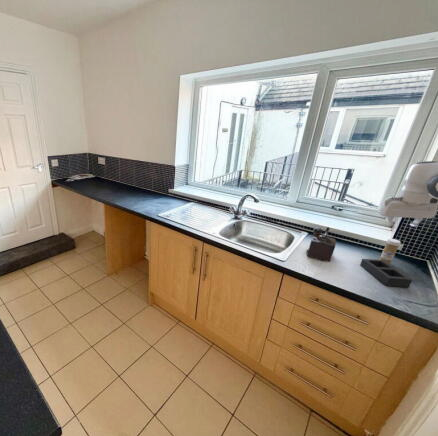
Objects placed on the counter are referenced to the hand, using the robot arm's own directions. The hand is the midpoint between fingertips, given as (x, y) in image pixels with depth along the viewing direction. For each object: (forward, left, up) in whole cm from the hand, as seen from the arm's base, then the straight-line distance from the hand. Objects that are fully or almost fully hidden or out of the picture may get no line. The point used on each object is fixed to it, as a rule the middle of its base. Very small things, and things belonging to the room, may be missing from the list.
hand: (401, 225), depth 114 cm
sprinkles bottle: (0, -1, -21) cm, 21 cm away
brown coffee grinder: (+31, -3, -21) cm, 37 cm away
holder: (+9, +11, -21) cm, 26 cm away
